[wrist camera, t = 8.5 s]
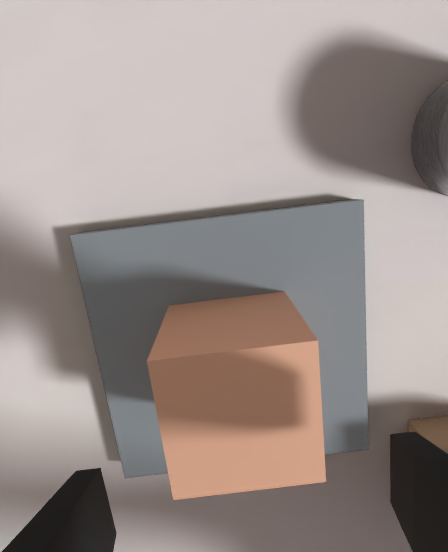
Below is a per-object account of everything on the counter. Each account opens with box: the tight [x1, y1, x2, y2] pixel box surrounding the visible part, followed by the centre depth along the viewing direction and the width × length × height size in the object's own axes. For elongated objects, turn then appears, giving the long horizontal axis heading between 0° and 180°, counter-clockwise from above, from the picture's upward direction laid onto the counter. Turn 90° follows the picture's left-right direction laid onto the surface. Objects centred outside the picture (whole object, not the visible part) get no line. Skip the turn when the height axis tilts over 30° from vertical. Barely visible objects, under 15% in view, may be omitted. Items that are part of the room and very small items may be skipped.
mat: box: [70, 199, 368, 478], centre depth 16 cm, size 12×12×1 cm
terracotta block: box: [147, 291, 326, 500], centre depth 13 cm, size 5×5×5 cm
